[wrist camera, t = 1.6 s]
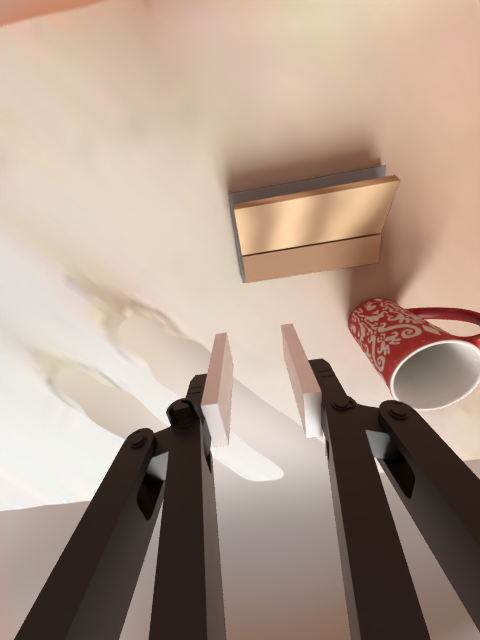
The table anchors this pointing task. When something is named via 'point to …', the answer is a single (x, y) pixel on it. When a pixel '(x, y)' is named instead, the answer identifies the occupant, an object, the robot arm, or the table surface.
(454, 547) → the robot arm
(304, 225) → the plank
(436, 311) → the mug
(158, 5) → the table surface
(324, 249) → the floor panel
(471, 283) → the table surface
